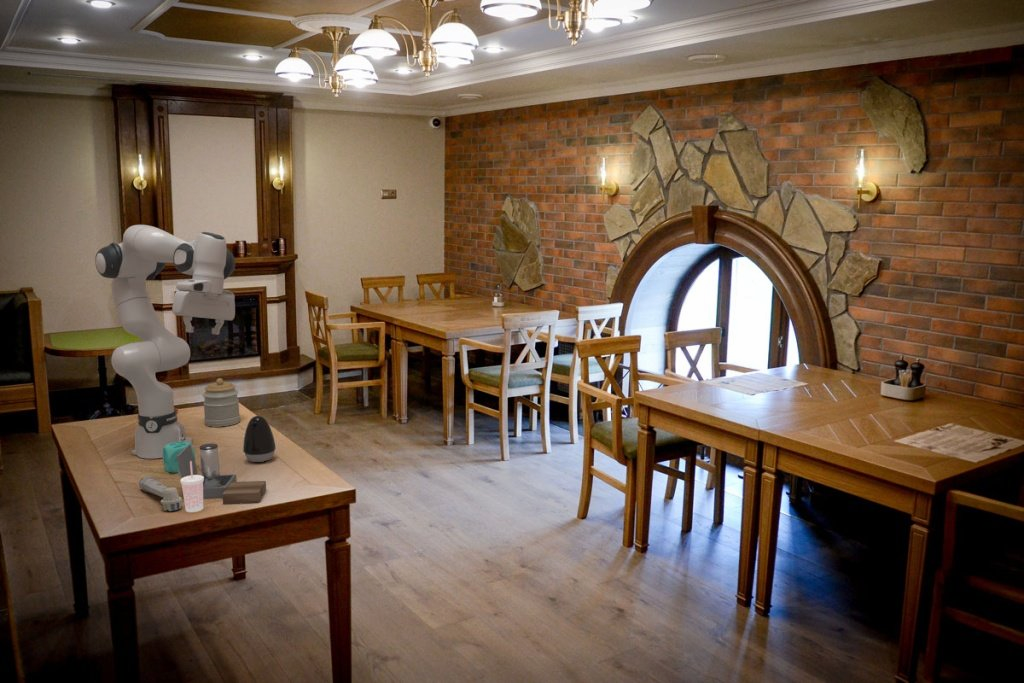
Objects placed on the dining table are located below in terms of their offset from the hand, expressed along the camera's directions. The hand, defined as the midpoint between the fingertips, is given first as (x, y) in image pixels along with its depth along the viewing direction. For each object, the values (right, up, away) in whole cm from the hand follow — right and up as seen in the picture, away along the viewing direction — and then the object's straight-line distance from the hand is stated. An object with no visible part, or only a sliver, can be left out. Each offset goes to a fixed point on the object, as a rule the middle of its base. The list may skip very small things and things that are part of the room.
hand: (202, 333), depth 244 cm
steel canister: (+3, -47, 0) cm, 47 cm away
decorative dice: (-15, -44, +20) cm, 50 cm away
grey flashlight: (-10, -49, -7) cm, 50 cm away
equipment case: (+3, -47, 0) cm, 47 cm away
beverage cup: (+3, -50, -14) cm, 52 cm away
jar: (-20, -34, +73) cm, 83 cm away
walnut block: (+14, -48, -5) cm, 50 cm away
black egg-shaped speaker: (+9, -42, +28) cm, 51 cm away
